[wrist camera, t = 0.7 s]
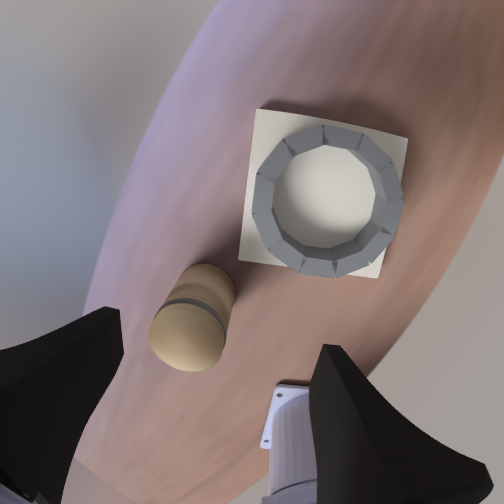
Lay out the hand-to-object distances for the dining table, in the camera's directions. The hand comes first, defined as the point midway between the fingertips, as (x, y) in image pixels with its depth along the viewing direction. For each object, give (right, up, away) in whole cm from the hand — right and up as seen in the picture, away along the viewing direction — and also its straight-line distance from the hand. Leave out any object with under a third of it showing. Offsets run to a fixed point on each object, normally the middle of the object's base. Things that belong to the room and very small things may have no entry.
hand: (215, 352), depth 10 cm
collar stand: (+6, +7, +8) cm, 12 cm away
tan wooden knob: (-2, +1, +11) cm, 11 cm away
